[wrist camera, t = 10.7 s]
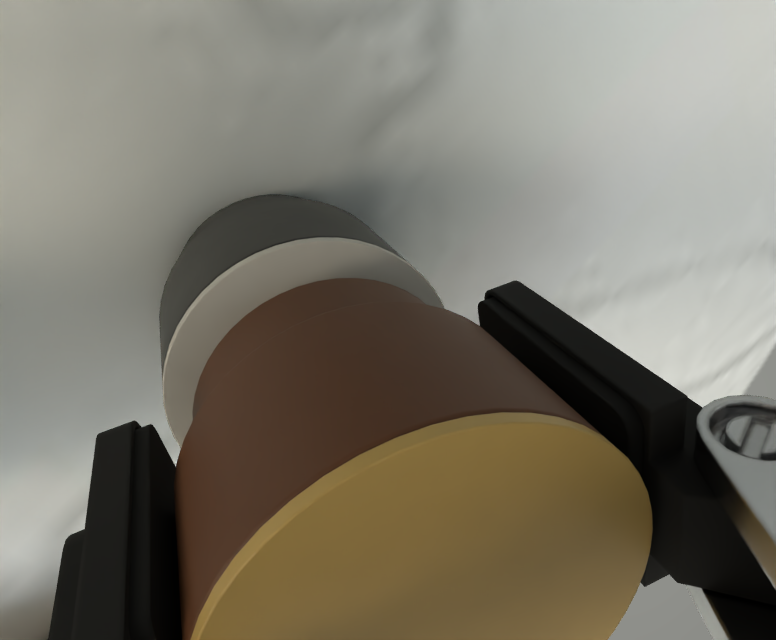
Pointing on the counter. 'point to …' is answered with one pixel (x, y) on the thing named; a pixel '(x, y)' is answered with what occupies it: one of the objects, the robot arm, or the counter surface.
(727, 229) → the counter surface
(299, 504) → the cylinder
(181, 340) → the black pod
